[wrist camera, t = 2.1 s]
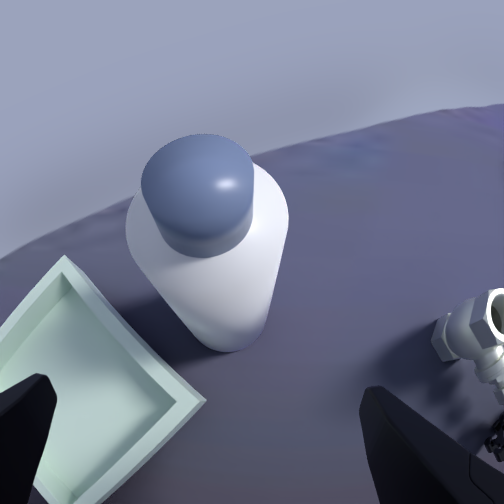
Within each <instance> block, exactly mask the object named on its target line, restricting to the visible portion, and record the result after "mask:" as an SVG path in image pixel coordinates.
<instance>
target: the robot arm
mask: <svg viewBox="0 0 504 504" xmlns="http://www.w3.org/2000/svg"><path fill="white" fill-rule="evenodd" d="M56 404H57V394H56V392H55V390H54V388H53V385H52V383H51V381H50V379H49V377H48V376H47V375H44V374H40V373H35V374H33V375H31V376H29V377H27V378H26V379H24V380H22V381H20V382H19V383H17V384H15V385H13V386H12V387H10V388H8V389H6V390H5V391H3V392H1V393H0V504H27V503H28V500H29V496H30V493H31V489H32V486H33V483H34V479H35V476H36V473H37V470H38V467H39V463H40V460H41V457H42V455H43V452H44V449H45V446H46V443H47V439H48V435H49V431H50V427H51V423H52V419H53V416H54V412H55V408H56ZM359 415H360V421H361V426H362V432H363V437H364V443H365V449H366V455H367V460H368V464H369V467H370V471H371V474H372V478H373V481H374V484H375V488H376V491H377V495H378V498H379V502H380V504H504V474H503V473H502V472H500V471H498V470H497V469H495V468H493V467H492V466H490V465H489V464H487V463H486V462H484V461H483V460H481V459H480V458H478V457H477V456H476V455H474V454H473V453H470V451H468V450H467V449H466V448H464V447H463V446H462V445H460V444H459V443H457V442H456V441H455V440H453V439H452V438H451V437H449V436H448V435H447V434H445V433H444V432H442V431H441V430H440V429H438V428H437V427H436V426H434V425H433V424H432V423H430V422H429V421H428V420H426V419H425V418H424V417H422V416H421V415H420V414H418V413H417V412H416V411H414V410H413V409H412V408H410V407H409V406H408V405H406V404H405V403H404V402H402V401H401V400H400V399H398V398H397V397H396V396H394V395H393V394H392V393H390V392H389V391H388V390H386V389H385V388H384V387H382V386H379V385H378V386H371V387H367V388H366V389H365V392H364V395H363V398H362V401H361V405H360V408H359Z"/></svg>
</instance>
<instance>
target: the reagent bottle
mask: <svg viewBox="0 0 504 504" xmlns="http://www.w3.org/2000/svg"><path fill="white" fill-rule="evenodd" d="M287 229H288V208H287V204H286V200H285V198H284V195H283V193H282V191H281V189H280V187H279V186H278V184H277V183H276V182H275V180H274V179H273V178H272V177H271V176H270V175H269V174H268V173H267V172H266V171H265V170H263V169H262V168H261V167H259V166H258V165H256V164H254V163H252V160H251V158H250V156H249V155H248V153H247V152H246V151H245V150H244V149H243V148H242V147H241V146H240V145H239V144H237V143H236V142H234V141H232V140H230V139H228V138H225V137H222V136H218V135H211V134H197V135H190V136H186V137H183V138H179V139H177V140H174V141H172V142H170V143H168V144H167V145H165V146H164V147H162V148H161V149H160V150H158V151H157V152H156V153H155V154H154V155H153V156H152V157H151V159H150V160H149V161H148V163H147V165H146V166H145V169H144V171H143V174H142V178H141V187H140V189H139V190H138V192H137V193H136V195H135V196H134V198H133V200H132V202H131V205H130V207H129V210H128V214H127V219H126V239H127V243H128V247H129V250H130V252H131V255H132V257H133V259H134V260H135V262H136V263H137V265H138V266H139V268H140V269H141V270H142V272H143V273H144V274H145V275H146V277H147V278H148V279H149V281H150V282H151V283H152V285H153V286H154V287H155V288H156V290H157V291H158V292H159V293H160V295H161V296H162V297H163V298H164V300H165V301H166V302H167V303H168V305H169V306H170V307H171V308H172V310H173V311H174V312H175V313H176V315H177V316H178V317H179V318H180V319H181V321H182V322H183V323H184V324H185V325H186V327H187V328H188V329H189V330H190V331H191V332H192V334H193V335H194V336H195V337H196V338H197V339H198V340H199V341H200V342H201V343H202V344H203V345H205V346H206V347H208V348H210V349H212V350H215V351H219V352H235V351H239V350H242V349H244V348H246V347H248V346H249V345H251V344H252V343H253V342H254V341H255V340H256V339H257V338H258V337H259V336H260V335H261V333H262V331H263V329H264V326H265V323H266V319H267V315H268V311H269V307H270V303H271V298H272V294H273V290H274V286H275V281H276V277H277V273H278V269H279V264H280V260H281V256H282V251H283V247H284V242H285V238H286V234H287Z"/></svg>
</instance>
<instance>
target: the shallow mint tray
mask: <svg viewBox="0 0 504 504" xmlns="http://www.w3.org/2000/svg"><path fill="white" fill-rule="evenodd" d="M35 373H40V374H44V375H47V376H48V377H49V379H50V381H51V383H52V385H53V388H54V390H55V392H56V394H57V404H56V408H55V412H54V416H53V419H52V423H51V427H50V431H49V435H48V439H47V443H46V446H45V449H44V452H43V455H42V457H41V460H40V463H39V467H38V470H37V473H36V476H35V479H34V483H33V485H34V486H35V488H36V489H37V490H38V491H39V493H40V494H41V495H42V496H43V497H44V498H45V500H46V501H47V502H48V503H49V504H101V503H102V502H104V501H105V500H106V499H107V498H108V497H109V496H110V495H111V494H113V493H114V492H115V491H116V490H117V489H118V488H119V487H120V486H121V485H122V484H124V483H125V482H126V481H127V480H128V479H129V478H130V477H131V476H132V475H133V474H134V473H135V472H136V471H137V470H139V469H140V468H141V467H142V466H143V465H144V464H145V463H146V462H147V461H148V460H149V459H150V458H151V457H152V456H153V455H154V454H155V453H156V452H157V451H158V450H159V449H160V448H161V447H162V446H163V445H164V444H165V443H166V442H167V441H168V440H169V439H170V438H171V437H172V436H173V435H174V434H175V433H176V432H177V431H178V430H179V429H180V428H181V427H182V426H183V425H184V424H185V423H186V422H187V421H188V420H189V419H190V418H191V417H192V416H193V415H194V414H195V413H196V412H197V411H198V410H199V409H200V408H201V407H202V405H203V404H204V403H205V402H206V401H207V400H206V399H205V398H204V397H203V396H201V395H200V394H199V393H198V392H197V391H196V390H195V389H194V388H193V387H191V386H190V385H189V384H188V383H187V382H186V381H185V380H184V379H183V378H182V377H181V376H180V375H178V374H177V373H176V372H175V371H174V370H173V369H172V368H171V367H170V366H169V365H168V364H167V363H166V362H165V361H164V360H163V359H162V358H161V357H160V356H159V355H158V354H157V353H156V352H155V351H154V350H153V349H152V348H151V347H150V346H149V345H148V344H147V343H146V342H145V341H144V340H143V339H142V338H141V337H140V336H139V335H138V334H137V333H136V332H135V330H134V329H133V328H132V327H131V326H130V325H129V324H128V323H127V322H126V321H125V320H124V319H123V318H122V316H121V315H120V314H119V313H118V312H117V311H116V310H115V309H114V307H113V306H112V305H111V304H110V303H109V302H108V301H107V299H106V298H105V297H104V296H103V295H102V294H101V292H100V291H99V290H98V289H97V288H96V287H95V285H94V284H93V283H92V282H91V280H90V279H89V278H88V277H87V276H86V274H85V273H84V272H83V271H82V270H81V269H79V268H78V267H77V266H76V265H75V264H74V263H73V262H72V261H71V260H70V259H69V258H67V257H66V256H65V255H64V256H63V257H62V258H61V259H60V260H59V261H58V262H57V263H56V264H55V265H54V266H53V267H52V268H51V269H50V270H49V271H48V272H47V274H46V275H45V276H44V277H43V278H42V279H41V280H40V281H39V282H38V283H37V285H36V286H35V287H34V288H33V289H32V290H31V291H30V293H29V294H28V295H27V296H26V297H25V298H24V300H23V301H22V302H21V303H20V304H19V305H18V307H17V308H16V309H15V310H14V311H13V313H12V314H11V315H10V316H9V318H8V319H7V320H6V321H5V323H4V324H3V325H2V326H1V328H0V393H1V392H3V391H5V390H6V389H8V388H10V387H12V386H13V385H15V384H17V383H19V382H20V381H22V380H24V379H26V378H27V377H29V376H31V375H33V374H35Z"/></svg>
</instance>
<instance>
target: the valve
mask: <svg viewBox="0 0 504 504" xmlns="http://www.w3.org/2000/svg"><path fill="white" fill-rule="evenodd" d="M431 344H432V345H433V347H434V349H435V350H436V352H437V354H438V355H439V357H440V359H441V360H442V362H445V361H450V360H456V359H461V358H463V359H467V360H473V361H474V362H475V364H476V367H475V370H474V371H475V374H476V376H477V377H478V379H479V381H480V382H481V383H487V382H489V384H495V388H494V391H493V392H494V394H495V396H496V398H497V400H498V403H499V404H501V405H504V289H493V290H488V291H487V292H485V293H483V294H482V295H480V296H478V297H475V298H470V299H467V300H465V301H463V302H461V303H460V304H459V305H458V306H456V308H455V309H454V310H453V311H452V313H448V314H446V315H444V316H442V317H441V318H439V319H438V320H437V323H436V326H435V329H434V332H433V335H432V338H431ZM502 345H503V346H502ZM493 429H494V431H495V433H496V435H497V438H496V439H493V440H492V438H491V437H489V438H487V439H486V441H485V442H484V445H485V447H486V449H487V451H488V453H492V452H493V453H494V455H495V458H496V460H497V461H498V462H502V461H504V412H503V413H502V414H501V416H500V418H499V419H498V420H497V421H496V422H495V423H494V424H493ZM499 447H501V449H499Z"/></svg>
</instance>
